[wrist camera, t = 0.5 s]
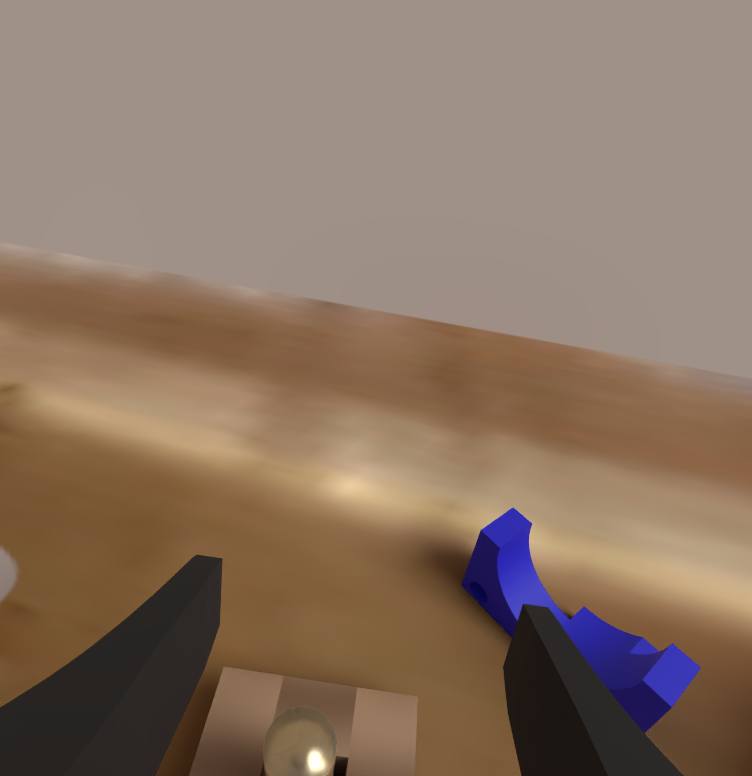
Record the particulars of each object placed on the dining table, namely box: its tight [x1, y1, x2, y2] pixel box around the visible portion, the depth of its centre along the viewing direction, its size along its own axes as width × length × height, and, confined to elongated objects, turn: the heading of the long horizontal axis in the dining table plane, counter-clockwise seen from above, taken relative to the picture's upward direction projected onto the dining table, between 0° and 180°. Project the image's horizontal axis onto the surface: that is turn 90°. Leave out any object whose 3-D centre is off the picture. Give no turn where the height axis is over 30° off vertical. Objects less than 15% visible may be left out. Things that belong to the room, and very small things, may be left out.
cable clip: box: [462, 508, 701, 733], centre depth 31 cm, size 12×4×6 cm, turn 39°
